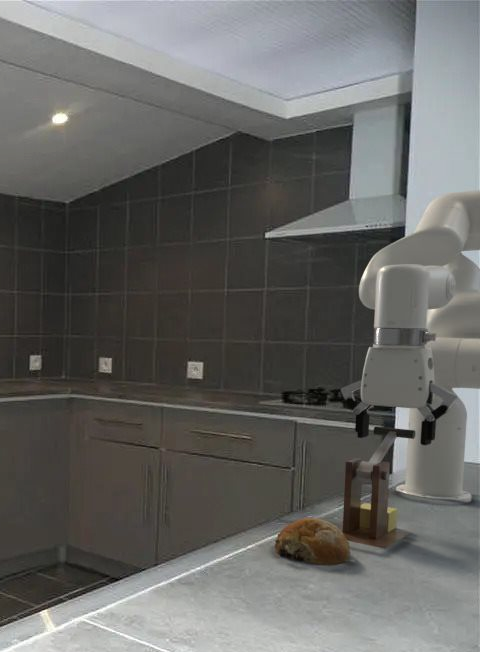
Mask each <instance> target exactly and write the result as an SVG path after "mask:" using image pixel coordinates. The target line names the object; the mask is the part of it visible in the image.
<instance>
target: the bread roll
mask: <svg viewBox="0 0 480 652" xmlns="http://www.w3.org/2000/svg"><path fill="white" fill-rule="evenodd" d="M335 525H336V524H333V522H330V521H328V520H325V519H322V518H318V517H304V518H303V517H302V518H300V519H297V520H295V521H292V522H291V523H289V524H287V525H285V526H284V527H283V528H282V529H281V531H280V532H279V533H277V537H276V539H275V540H274V542H275V543H274V549H275V551H276V554H278V555H279V556H280V557H282V558H288V559H289V558H290V559H293V560H294V561H296V562H305V563H308V564H313V565H319V566H334V565H340V564H346V563H349V562H350V560H351V557H352V556H351V546H350V541H348V540H347V539H346V538H345V536H344V534H343V533H342V532H341V530H340V529H338V528H337V526H335Z"/></svg>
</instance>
